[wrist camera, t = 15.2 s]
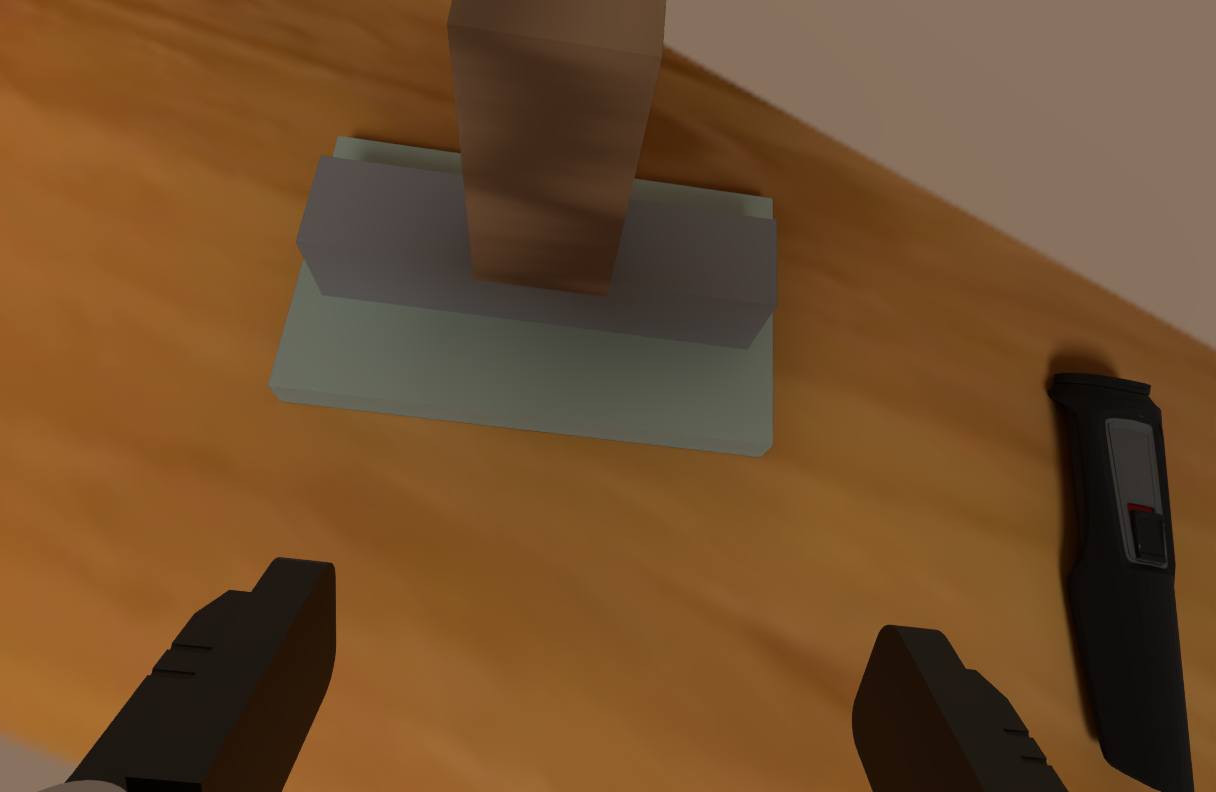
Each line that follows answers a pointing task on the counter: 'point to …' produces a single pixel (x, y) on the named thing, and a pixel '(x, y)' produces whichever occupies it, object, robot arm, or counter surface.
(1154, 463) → the electric trimmer
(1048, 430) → the counter surface
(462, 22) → the brown wooden block
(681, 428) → the ridge board
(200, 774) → the robot arm
